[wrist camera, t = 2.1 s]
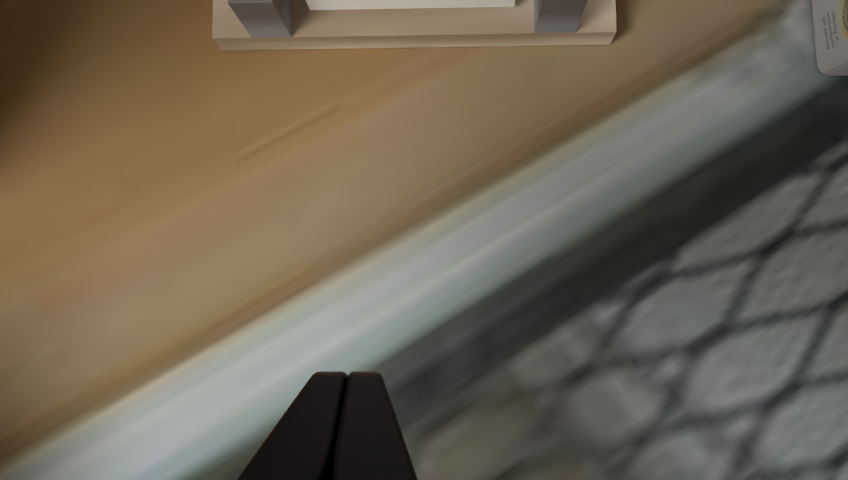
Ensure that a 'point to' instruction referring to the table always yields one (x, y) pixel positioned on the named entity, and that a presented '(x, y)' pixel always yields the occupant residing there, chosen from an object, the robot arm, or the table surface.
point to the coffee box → (831, 36)
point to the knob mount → (410, 25)
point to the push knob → (403, 4)
